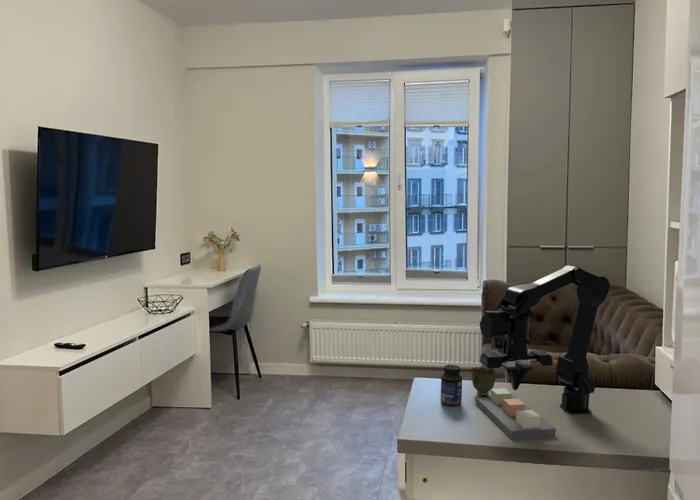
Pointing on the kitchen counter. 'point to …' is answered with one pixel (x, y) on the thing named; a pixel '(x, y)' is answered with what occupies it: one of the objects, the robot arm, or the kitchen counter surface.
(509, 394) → the sage button
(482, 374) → the cup
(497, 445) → the kitchen counter surface
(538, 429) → the button board
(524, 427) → the cream button
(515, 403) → the terracotta button
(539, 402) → the kitchen counter surface
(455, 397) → the pill bottle
